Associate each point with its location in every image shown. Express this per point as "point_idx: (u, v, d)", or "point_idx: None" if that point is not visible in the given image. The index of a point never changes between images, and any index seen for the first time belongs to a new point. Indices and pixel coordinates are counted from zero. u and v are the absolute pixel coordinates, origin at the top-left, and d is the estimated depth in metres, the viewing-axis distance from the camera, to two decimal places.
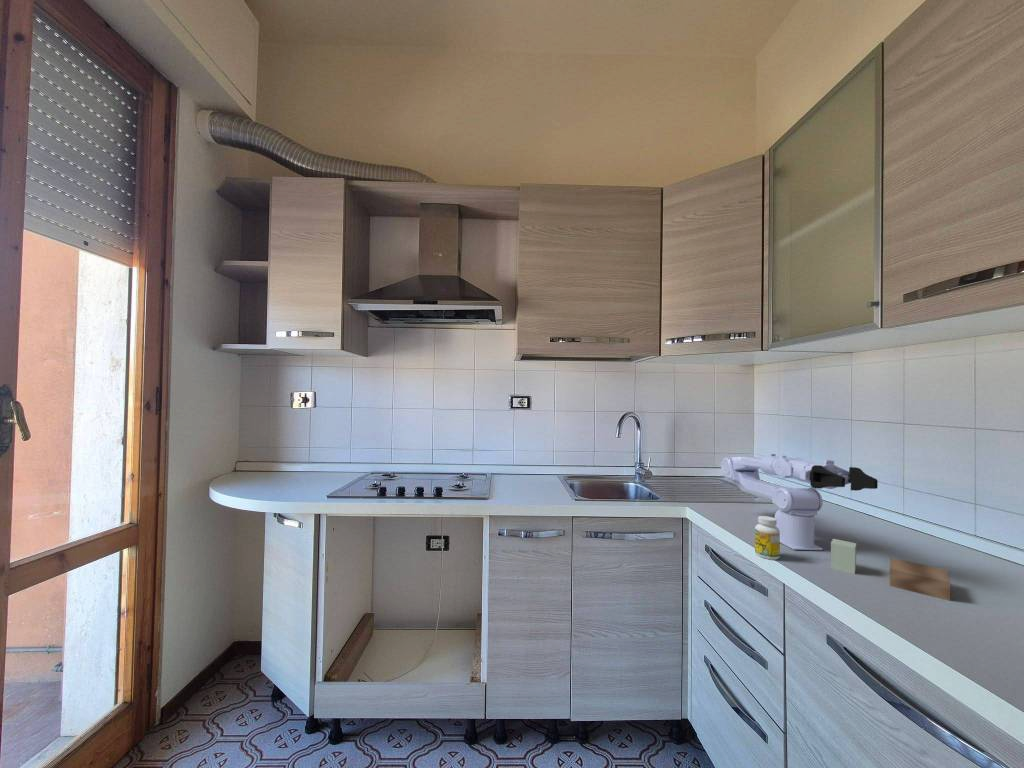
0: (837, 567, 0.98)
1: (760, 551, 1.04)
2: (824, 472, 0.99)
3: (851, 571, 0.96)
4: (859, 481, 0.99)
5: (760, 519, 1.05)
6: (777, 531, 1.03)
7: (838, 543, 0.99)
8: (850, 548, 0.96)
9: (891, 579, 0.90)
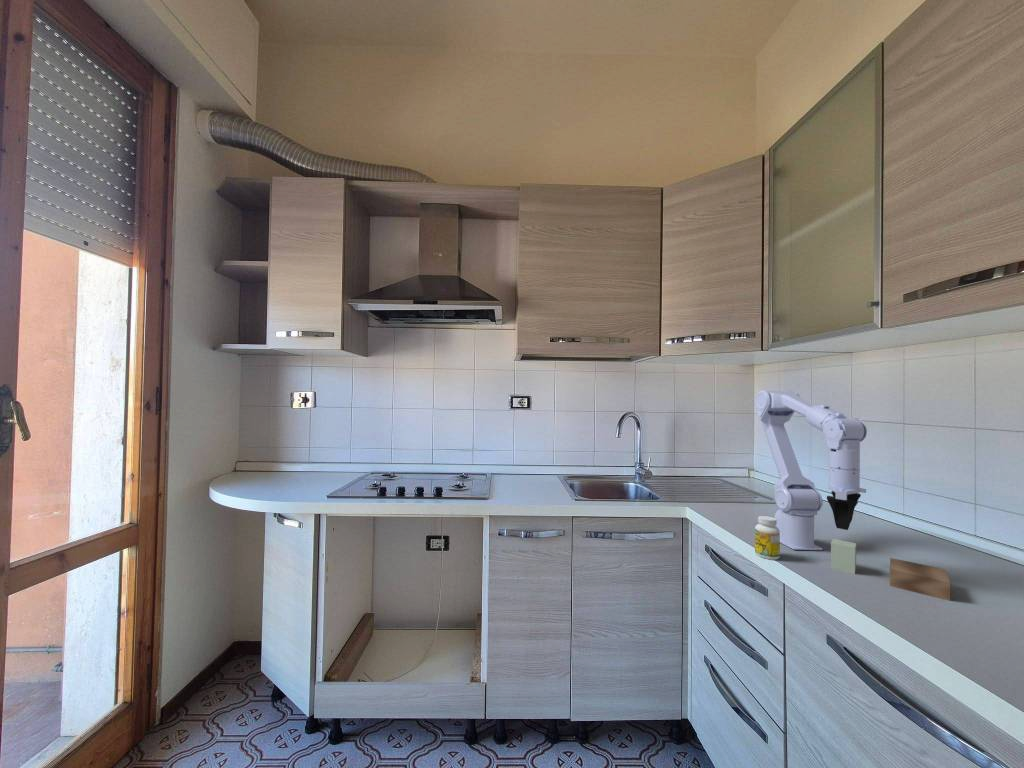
0: (837, 567, 0.98)
1: (760, 551, 1.04)
2: (850, 513, 0.94)
3: (851, 571, 0.96)
4: None
5: (760, 519, 1.05)
6: (777, 531, 1.03)
7: (838, 543, 0.99)
8: (850, 548, 0.96)
9: (891, 579, 0.90)
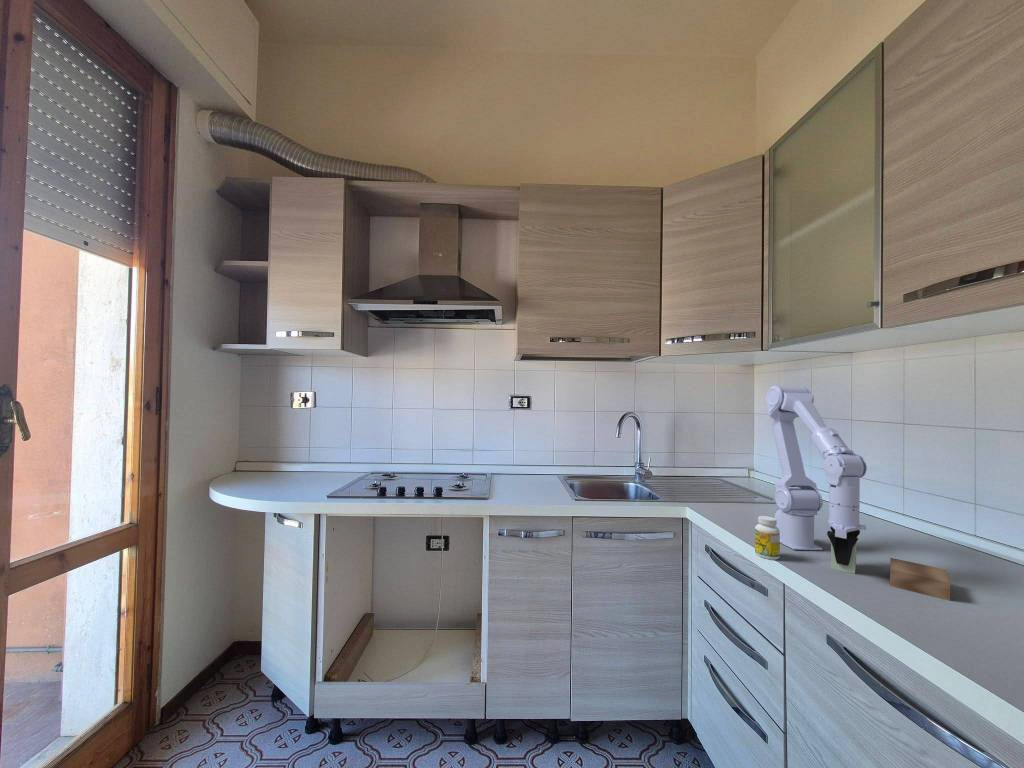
0: (837, 567, 0.98)
1: (760, 551, 1.04)
2: (850, 549, 0.95)
3: (851, 571, 0.96)
4: None
5: (760, 519, 1.05)
6: (777, 531, 1.03)
7: None
8: None
9: (891, 579, 0.90)
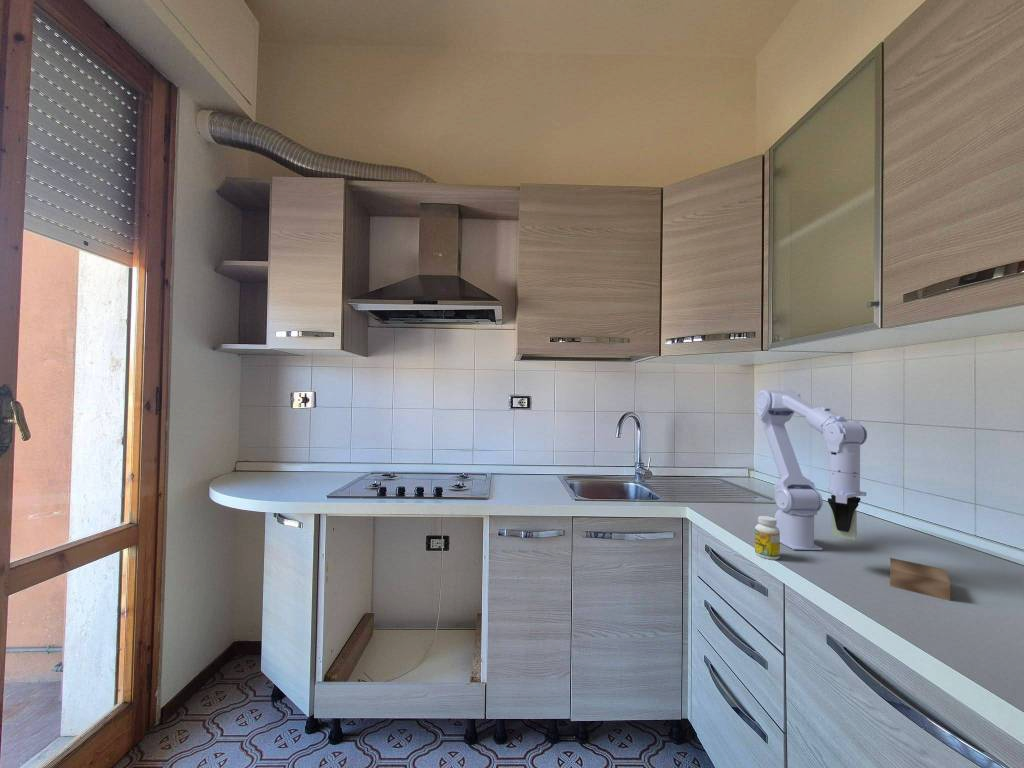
0: (837, 534, 0.98)
1: (760, 550, 1.04)
2: (850, 515, 0.95)
3: (852, 537, 0.96)
4: None
5: (760, 519, 1.05)
6: (777, 531, 1.03)
7: None
8: None
9: (891, 579, 0.90)
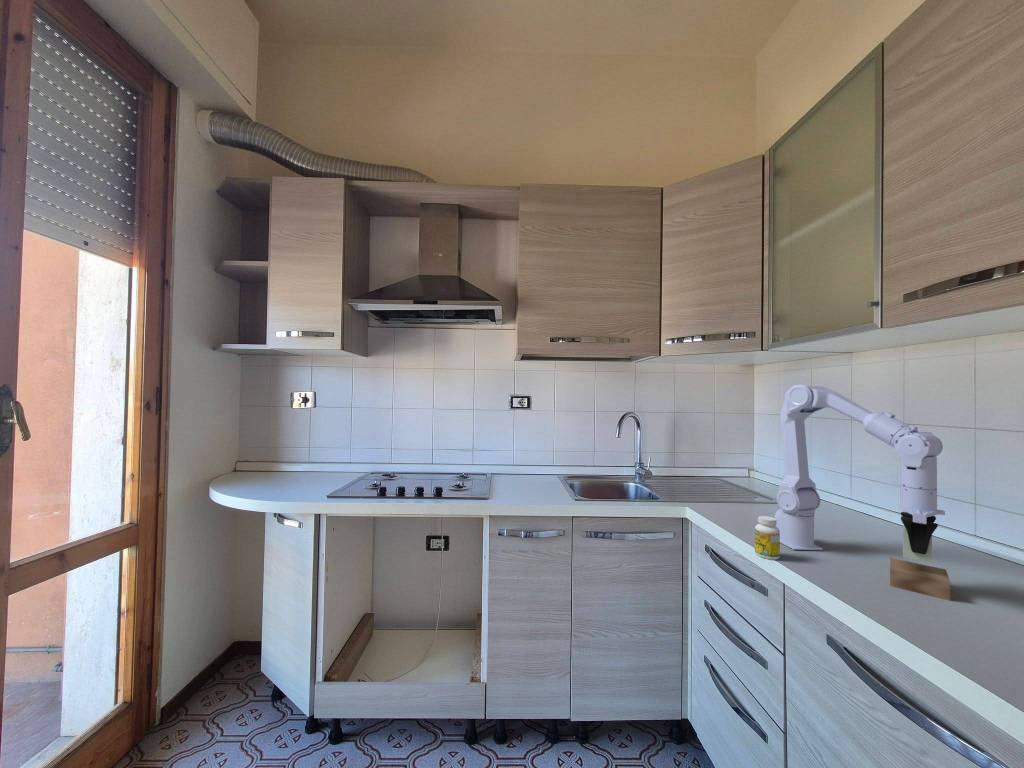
0: (910, 556, 0.90)
1: (760, 551, 1.04)
2: (928, 536, 0.87)
3: (927, 560, 0.88)
4: None
5: (760, 519, 1.05)
6: (777, 531, 1.03)
7: None
8: None
9: (891, 579, 0.90)
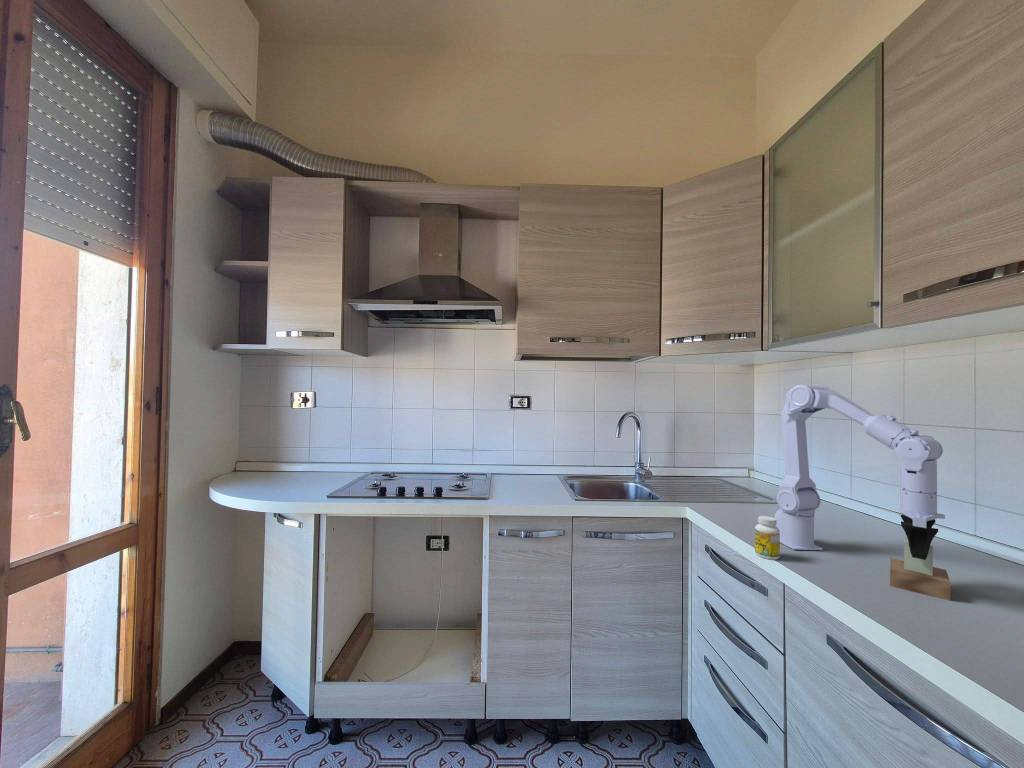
0: (911, 568, 0.89)
1: (760, 551, 1.04)
2: (929, 541, 0.86)
3: (928, 572, 0.87)
4: None
5: (760, 519, 1.05)
6: (777, 531, 1.03)
7: None
8: None
9: (891, 579, 0.90)
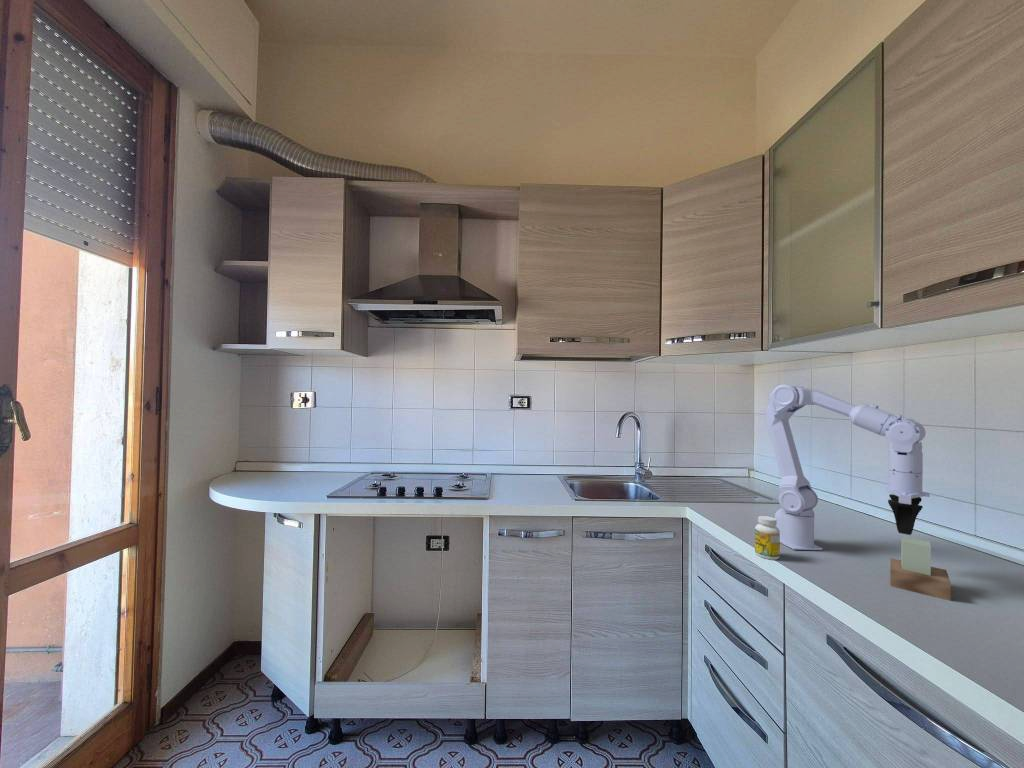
0: (909, 568, 0.89)
1: (760, 550, 1.04)
2: (914, 517, 0.92)
3: (926, 572, 0.88)
4: None
5: (760, 519, 1.05)
6: (777, 531, 1.03)
7: (910, 541, 0.90)
8: (925, 547, 0.88)
9: (892, 579, 0.90)
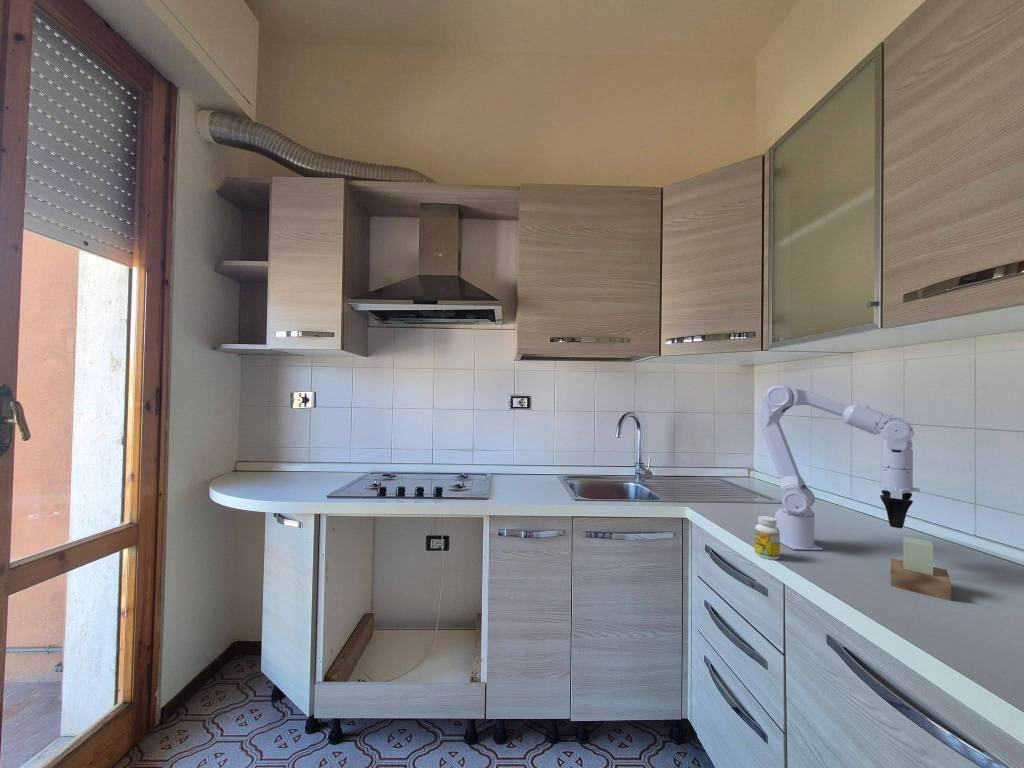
0: (912, 568, 0.89)
1: (760, 551, 1.04)
2: (905, 512, 0.96)
3: (929, 572, 0.88)
4: None
5: (760, 519, 1.05)
6: (777, 531, 1.03)
7: (912, 541, 0.90)
8: (927, 547, 0.88)
9: (892, 579, 0.90)
